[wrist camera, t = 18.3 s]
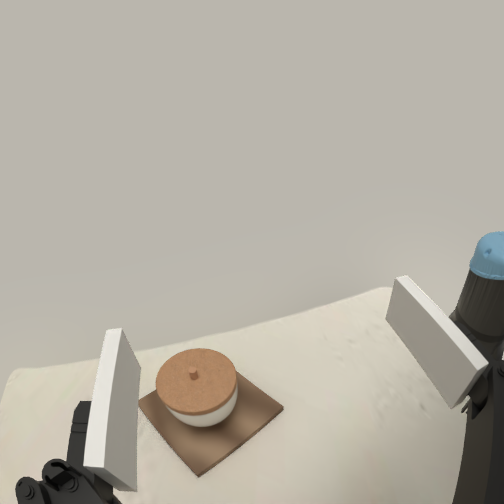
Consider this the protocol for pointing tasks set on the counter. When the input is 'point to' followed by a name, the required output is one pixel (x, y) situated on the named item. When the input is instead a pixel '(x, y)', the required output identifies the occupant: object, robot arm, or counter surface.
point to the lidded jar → (198, 386)
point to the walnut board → (213, 426)
